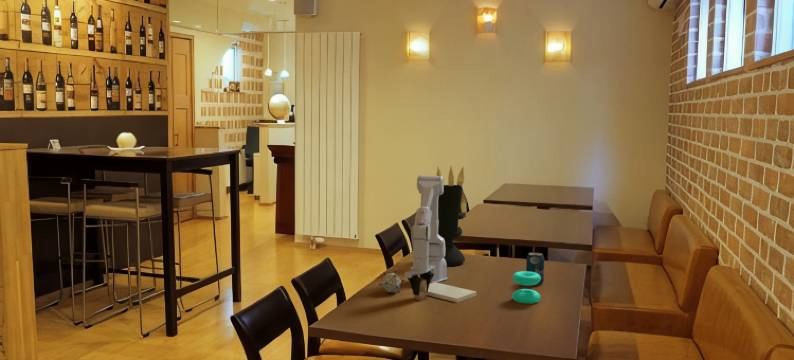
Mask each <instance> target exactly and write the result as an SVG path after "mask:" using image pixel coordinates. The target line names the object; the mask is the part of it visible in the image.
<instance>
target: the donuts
mask: <svg viewBox="0 0 794 360" xmlns="http://www.w3.org/2000/svg"><path fill="white" fill-rule="evenodd" d="M512 280H513V281H514V282H515V283H516V284H518V285H521V286H536V285H535V284H538V283H539V282H540V280H541V277H540V275H539V274H537V273H535V272H530V271H525V270H522V271H517V272H514V274H512ZM511 296H512V299H513V301H515V302H517V303H519V304H525V305H527V304H530V305H532V304H536V303H539V302H540V300H541V294H540V293H539V292H538V291H536V290H534V289H529V288H521V289H517V290H515V291H514V292H513V293H512V295H511Z"/></svg>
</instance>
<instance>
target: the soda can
mask: <svg viewBox="0 0 794 360" xmlns="http://www.w3.org/2000/svg"><path fill="white" fill-rule="evenodd" d="M525 263H526V267H525V269H526V271H530V272H535V273H537V274H539V275H540V277H541V280H540V282H539V283H538V284H535V285H534V286H540V285H543V283H544V280H545V257H544V254H543V253H542V252H540V251H539V252H537V251H535V252H534V251H532V252H528V253H527V256H526V262H525Z"/></svg>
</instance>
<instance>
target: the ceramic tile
mask: <svg viewBox="0 0 794 360" xmlns="http://www.w3.org/2000/svg"><path fill="white" fill-rule="evenodd" d="M477 294H478V292H477V291H475V290H471V289H467V288H462V287H457V286H453V285H449V284H444V283H440V282H437V283H436V282H434V283H430V285H429V288H428V292H427V295H426V296H430V297H433V298H436V299H437V298H438V299H441V300H445V301H449V302H454V303H460V302H463V301H465V300H468V299H471V298H474V297H476V296H477Z"/></svg>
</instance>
